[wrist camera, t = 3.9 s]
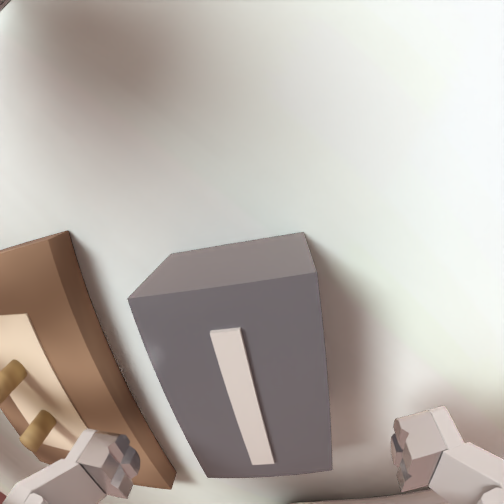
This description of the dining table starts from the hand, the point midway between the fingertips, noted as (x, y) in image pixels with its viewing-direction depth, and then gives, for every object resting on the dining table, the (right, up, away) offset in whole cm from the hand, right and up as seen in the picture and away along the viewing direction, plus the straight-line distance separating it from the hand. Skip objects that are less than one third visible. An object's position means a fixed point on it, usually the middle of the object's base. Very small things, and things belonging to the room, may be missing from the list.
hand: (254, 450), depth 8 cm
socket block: (0, +2, +5) cm, 5 cm away
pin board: (-12, -2, +7) cm, 14 cm away
